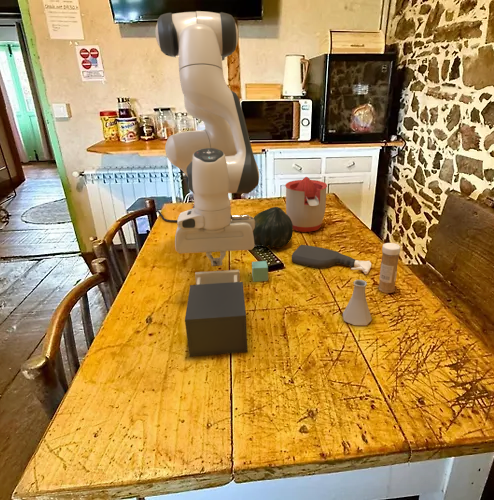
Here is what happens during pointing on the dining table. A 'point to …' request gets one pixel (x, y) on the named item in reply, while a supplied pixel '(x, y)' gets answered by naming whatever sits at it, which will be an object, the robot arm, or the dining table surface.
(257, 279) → the block
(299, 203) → the citrus juicer
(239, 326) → the dark grey box
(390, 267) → the sprinkles bottle
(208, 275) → the tray
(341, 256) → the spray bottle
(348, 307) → the flask
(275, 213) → the squash
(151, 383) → the dining table surface
